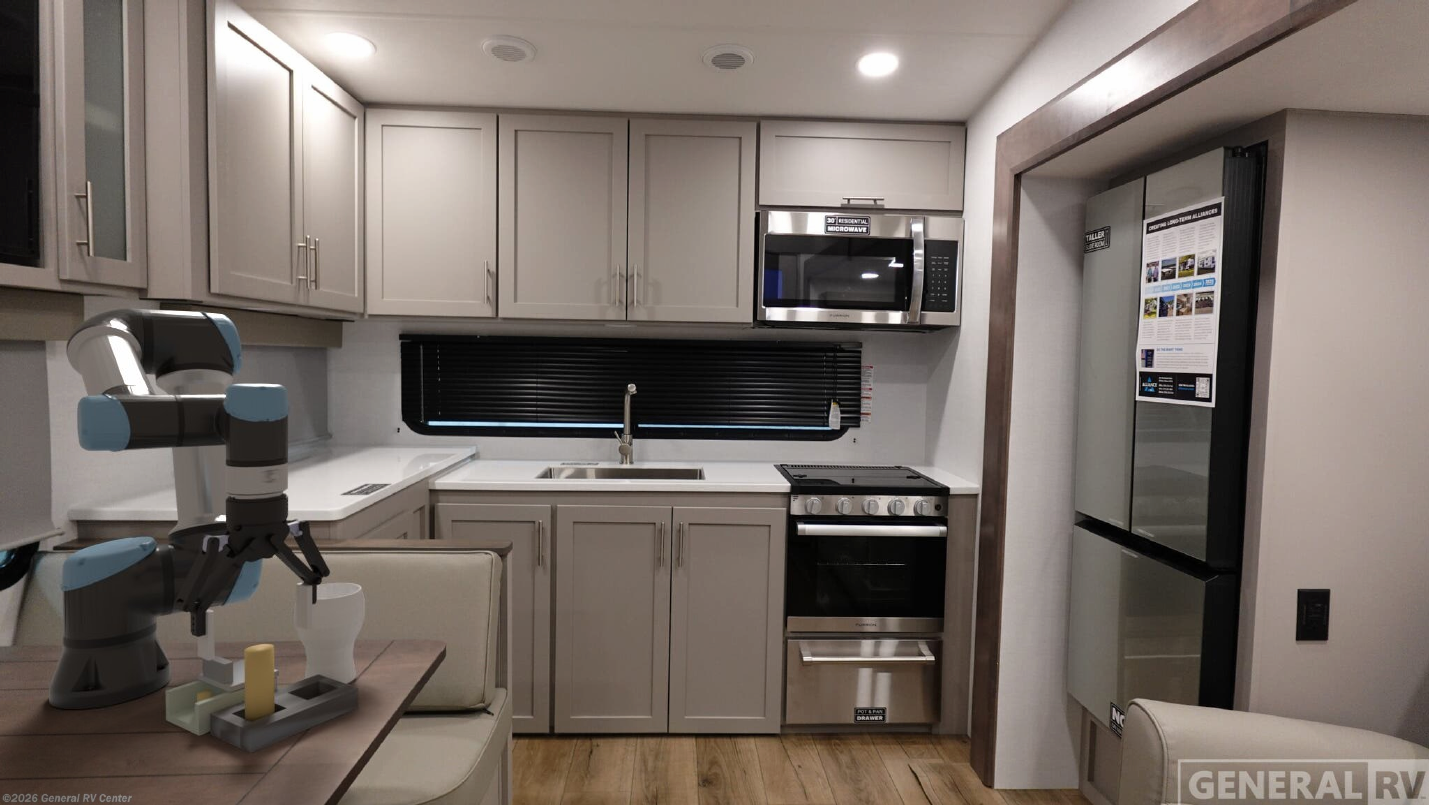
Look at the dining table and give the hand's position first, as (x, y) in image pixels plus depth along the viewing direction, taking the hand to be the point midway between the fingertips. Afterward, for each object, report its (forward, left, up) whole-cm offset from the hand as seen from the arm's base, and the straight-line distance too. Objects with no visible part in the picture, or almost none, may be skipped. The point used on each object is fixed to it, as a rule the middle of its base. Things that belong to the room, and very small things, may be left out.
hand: (257, 642), depth 106 cm
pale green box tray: (-10, 0, -13) cm, 16 cm away
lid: (-10, +3, -8) cm, 13 cm away
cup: (-8, +16, -13) cm, 22 cm away
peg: (0, 0, -13) cm, 13 cm away
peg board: (0, +4, -13) cm, 13 cm away
